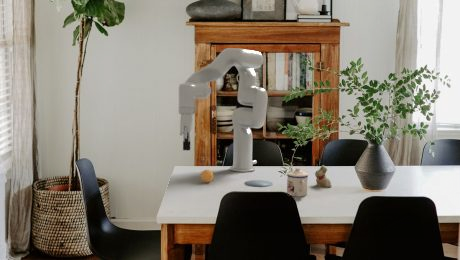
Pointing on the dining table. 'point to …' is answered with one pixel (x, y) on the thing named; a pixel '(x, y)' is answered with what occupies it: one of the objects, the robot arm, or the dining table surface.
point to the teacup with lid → (297, 182)
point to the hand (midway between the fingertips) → (186, 149)
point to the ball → (206, 176)
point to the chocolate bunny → (322, 178)
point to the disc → (258, 183)
